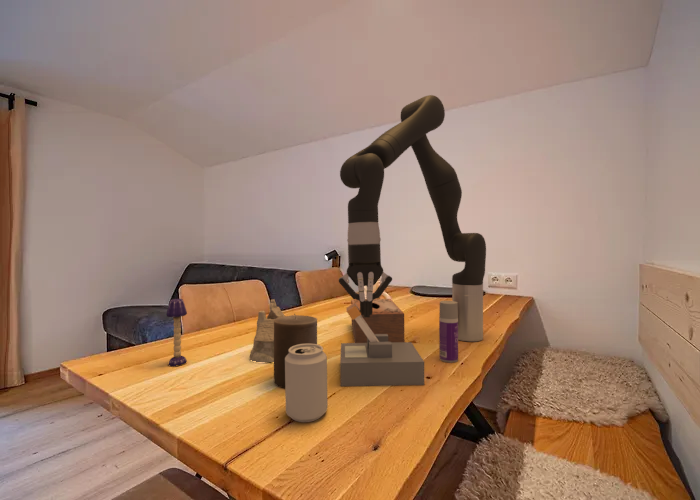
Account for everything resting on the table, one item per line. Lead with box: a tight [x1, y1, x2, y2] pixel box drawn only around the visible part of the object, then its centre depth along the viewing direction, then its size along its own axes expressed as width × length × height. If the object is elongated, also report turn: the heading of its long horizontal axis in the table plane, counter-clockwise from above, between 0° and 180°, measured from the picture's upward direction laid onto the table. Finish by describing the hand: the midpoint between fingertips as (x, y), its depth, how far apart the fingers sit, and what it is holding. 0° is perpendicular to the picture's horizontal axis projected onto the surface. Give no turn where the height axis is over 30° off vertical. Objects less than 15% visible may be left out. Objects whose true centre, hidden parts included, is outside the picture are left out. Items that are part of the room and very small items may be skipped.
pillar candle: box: [273, 313, 318, 389], centre depth 75 cm, size 10×10×15 cm
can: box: [284, 343, 328, 423], centre depth 60 cm, size 8×8×12 cm
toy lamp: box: [166, 298, 188, 367], centre depth 85 cm, size 5×5×17 cm
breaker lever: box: [346, 302, 379, 342], centre depth 78 cm, size 4×2×12 cm
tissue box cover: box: [350, 298, 406, 343], centre depth 110 cm, size 26×14×10 cm, turn 2°
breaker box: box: [339, 334, 425, 387], centre depth 78 cm, size 14×18×8 cm
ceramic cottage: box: [249, 299, 286, 362], centre depth 92 cm, size 16×16×15 cm
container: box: [438, 300, 459, 364], centre depth 86 cm, size 5×5×15 cm
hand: (366, 316), depth 78 cm, fingers closed
